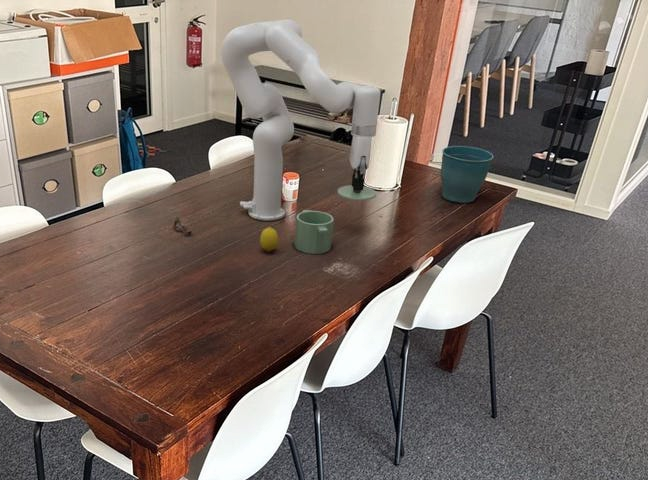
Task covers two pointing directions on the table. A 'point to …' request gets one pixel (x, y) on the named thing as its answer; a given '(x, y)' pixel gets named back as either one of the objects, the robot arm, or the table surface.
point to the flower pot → (463, 172)
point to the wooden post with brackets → (188, 232)
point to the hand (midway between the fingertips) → (357, 187)
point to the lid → (356, 193)
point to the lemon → (269, 239)
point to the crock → (313, 232)
